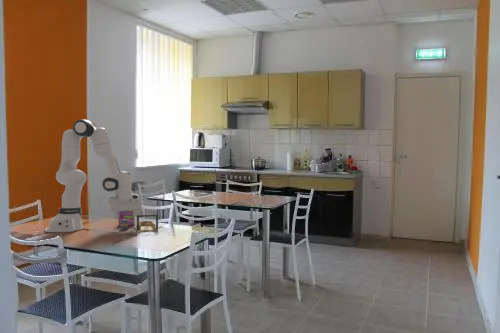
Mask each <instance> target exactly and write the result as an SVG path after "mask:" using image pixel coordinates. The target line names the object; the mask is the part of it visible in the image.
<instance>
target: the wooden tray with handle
mask: <svg viewBox="0 0 500 333" xmlns="http://www.w3.org/2000/svg"><path fill="white" fill-rule="evenodd" d="M148 217H155V222H154V221H153V220H140V218H148ZM133 228H134V229H135V231H136V233H146V232H147V233H148V232H150V231H151V232H159V214H157V213H156V214H137V215H136V225H133Z"/></svg>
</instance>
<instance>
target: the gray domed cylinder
mask: <svg viewBox="0 0 500 333" xmlns="http://www.w3.org/2000/svg"><path fill="white" fill-rule="evenodd" d="M120 230H122V231H126V230H129V225H128V219H123V220H121V225H120Z"/></svg>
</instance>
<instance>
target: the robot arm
mask: <svg viewBox="0 0 500 333" xmlns="http://www.w3.org/2000/svg"><path fill="white" fill-rule="evenodd" d="M85 138H89V139H91V142H92V145H93V146H92V148H93V150H94V153H95V155H96V156H97V158H99V159H102V161H104V162H105V163H106V166H107V167H108V170H109V175H110V176H108V177H106V178H104V179H103V180H102V184H101V185H102V188H103V189H104V190H105V191H106V192H115V191H117V196H111V197H110V198H108V199H107V200H108V201H107V202H108V206H109V207H108V210H109V211H110V212H112V213H114V214H115V215H116V218H117V219H118V218H120V217H119V216H120V215H118V211H127V210H134V213H133V214H132V217H135V218H136V213H137V210H142V208H143V206H142V201H141V199H140V195H139V194H137V193H135V192H134V193H133V190H132V184H133V183H132V182H133V181H132V176H131V173H130V172H129V171H125V170H124V171H123V170H121V171H120V168H119V164H118V161H117V159H116V155H115V153H114V150H113V145H112V143H111V139H110V135H109V133H108V131H107V129H106V128H105V127H100V126H98V127H96V125H95V123H94V122H93V121H92V120H89V119H83V118H81V119H76V121H74V123H73V125H72V129H67V130H65V131H64V132H63V134H62V140H61V159H60V160H61V161H60V164H59V168H58V170H57V171H56V174H55V179H56V181H57V182H58V183H59V184H61V185H63V186H65V188H64V191H63V193H62V195H61V207H58V208H57V211H58V214H56V215H55V216H54V217H52V218H51V219H50V220H49V222H48V226H47V227H45V229H44V232H46V233H68V232H69V233H72V232H76V231H80V230H83V229H84V225H83V221H82V206H81V196H82V190H83V187H84V185H85V184H86V182H87V173H85V172H84V171H82V170H80V169H78V167H77V166H78V163H79V161H81V142H82V139H85ZM109 211H108V212H109Z"/></svg>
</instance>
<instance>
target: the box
mask: <svg viewBox="0 0 500 333" xmlns="http://www.w3.org/2000/svg"><path fill="white" fill-rule="evenodd" d="M133 213H134V210H127V211H118V213H117V214H118V215H120V216H119V217H120V218H117V219H118V226H121V220H123V219H128V226H135V224H136V216H135V217H132V214H133Z"/></svg>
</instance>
